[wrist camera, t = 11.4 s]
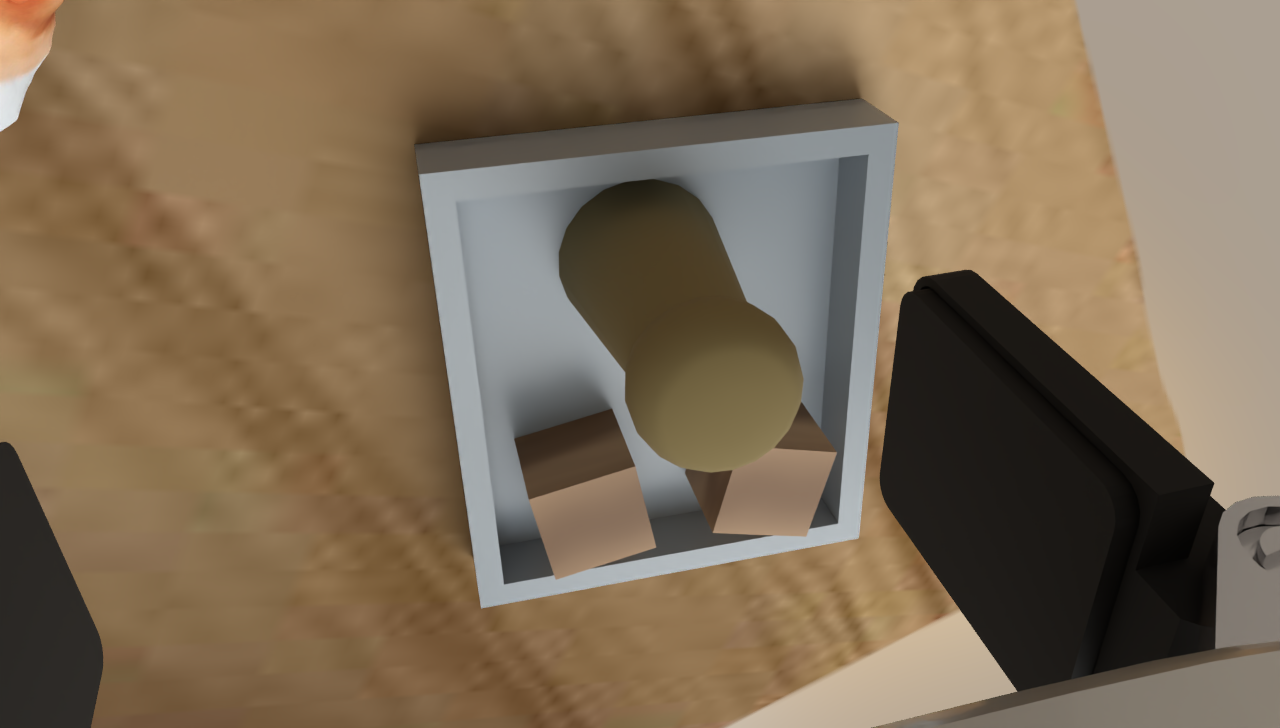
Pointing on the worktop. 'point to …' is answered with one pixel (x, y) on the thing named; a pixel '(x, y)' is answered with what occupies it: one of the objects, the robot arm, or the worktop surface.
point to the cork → (680, 327)
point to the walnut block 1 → (584, 493)
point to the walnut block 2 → (770, 485)
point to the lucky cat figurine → (22, 49)
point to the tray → (583, 367)
